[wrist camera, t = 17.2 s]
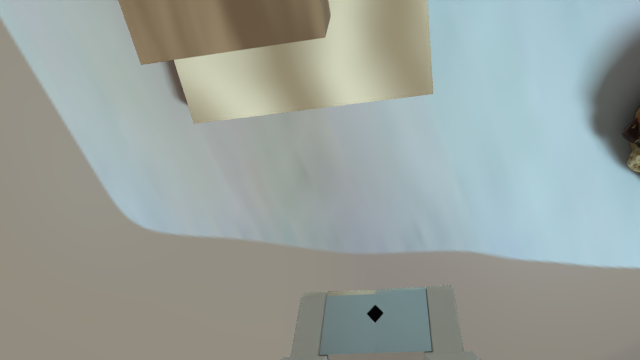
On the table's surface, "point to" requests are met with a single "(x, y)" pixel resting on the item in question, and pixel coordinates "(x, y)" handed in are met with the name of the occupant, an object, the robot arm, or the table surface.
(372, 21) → the board
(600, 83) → the table surface
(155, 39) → the walnut block
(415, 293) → the robot arm
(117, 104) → the table surface
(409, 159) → the table surface
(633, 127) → the bread roll
